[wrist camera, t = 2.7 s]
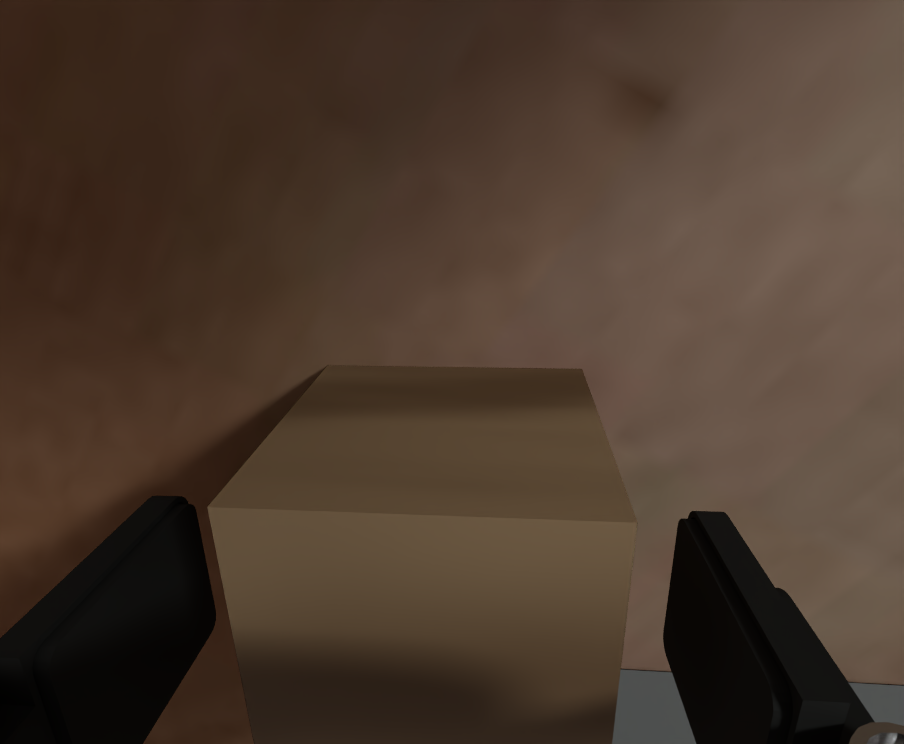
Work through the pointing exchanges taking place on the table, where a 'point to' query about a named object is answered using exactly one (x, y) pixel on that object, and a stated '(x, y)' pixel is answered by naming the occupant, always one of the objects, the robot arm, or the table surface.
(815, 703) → the robot arm
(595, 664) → the walnut cube
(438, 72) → the table surface
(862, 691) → the block
